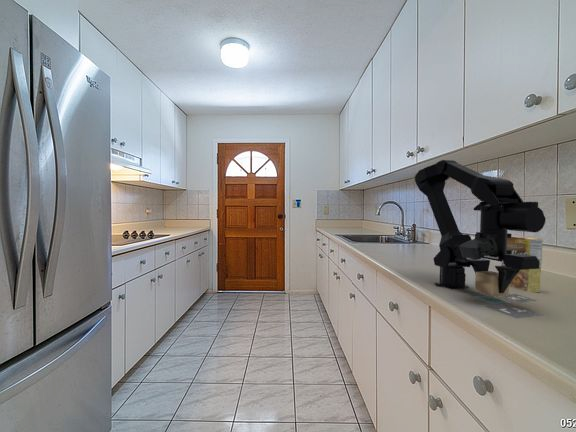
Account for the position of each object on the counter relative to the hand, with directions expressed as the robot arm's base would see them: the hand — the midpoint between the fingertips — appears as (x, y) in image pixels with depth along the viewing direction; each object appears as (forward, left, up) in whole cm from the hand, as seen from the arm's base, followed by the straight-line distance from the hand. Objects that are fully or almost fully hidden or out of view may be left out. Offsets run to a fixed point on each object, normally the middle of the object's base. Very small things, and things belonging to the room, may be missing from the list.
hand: (491, 290), depth 75 cm
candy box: (-7, +20, -3) cm, 21 cm away
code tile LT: (+8, -2, -3) cm, 8 cm away
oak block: (0, 0, -1) cm, 1 cm away
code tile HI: (+1, +8, -3) cm, 8 cm away
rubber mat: (0, 0, -3) cm, 3 cm away
